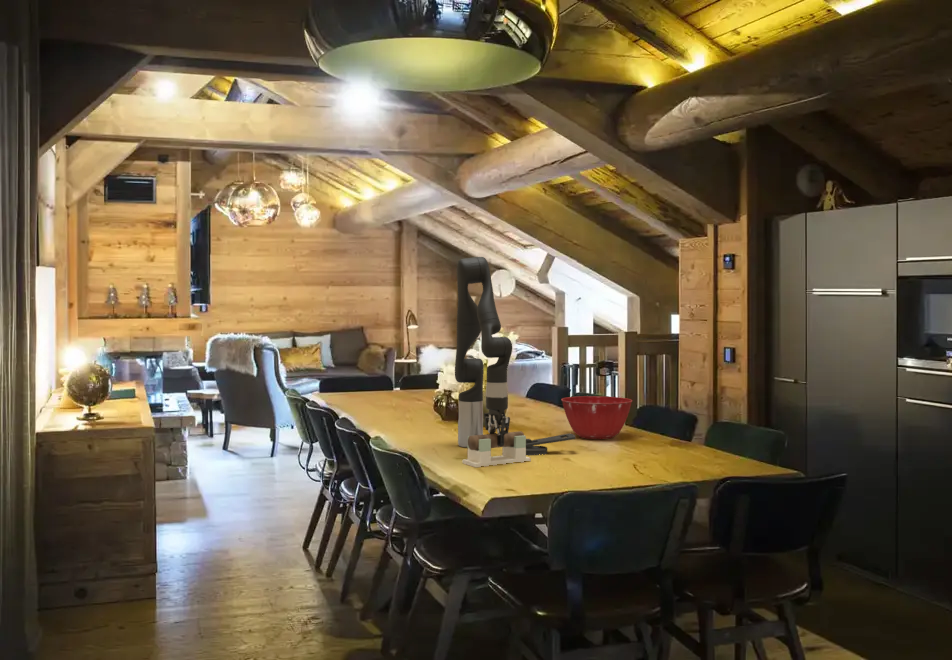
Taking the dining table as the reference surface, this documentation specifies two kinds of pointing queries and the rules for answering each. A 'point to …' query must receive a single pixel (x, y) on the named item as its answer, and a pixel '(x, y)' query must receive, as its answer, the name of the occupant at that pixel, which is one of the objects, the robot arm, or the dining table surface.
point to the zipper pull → (542, 449)
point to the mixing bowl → (596, 415)
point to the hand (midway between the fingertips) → (496, 444)
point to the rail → (493, 440)
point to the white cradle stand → (508, 456)
